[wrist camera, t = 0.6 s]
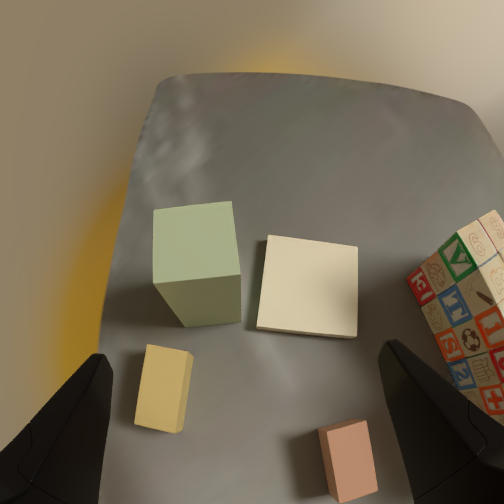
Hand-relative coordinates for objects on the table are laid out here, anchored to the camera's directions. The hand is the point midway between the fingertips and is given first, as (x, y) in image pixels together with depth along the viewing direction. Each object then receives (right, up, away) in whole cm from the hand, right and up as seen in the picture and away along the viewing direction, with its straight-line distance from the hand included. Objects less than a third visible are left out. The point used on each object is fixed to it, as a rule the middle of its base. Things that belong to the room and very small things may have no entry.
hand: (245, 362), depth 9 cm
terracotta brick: (+7, -13, +11) cm, 18 cm away
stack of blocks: (+21, -7, +14) cm, 27 cm away
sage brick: (-3, 0, +17) cm, 17 cm away
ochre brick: (-6, -7, +13) cm, 16 cm away
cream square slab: (+5, 0, +18) cm, 18 cm away
